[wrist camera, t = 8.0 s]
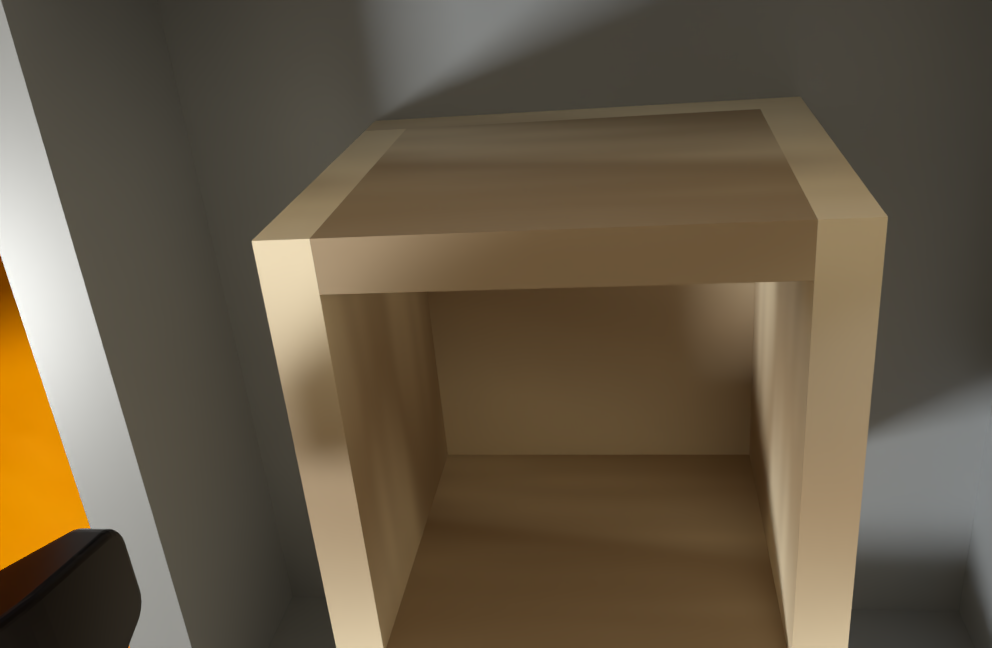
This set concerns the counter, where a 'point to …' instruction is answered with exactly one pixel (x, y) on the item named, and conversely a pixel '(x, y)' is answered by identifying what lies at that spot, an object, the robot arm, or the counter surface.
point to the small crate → (582, 376)
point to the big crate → (445, 93)
